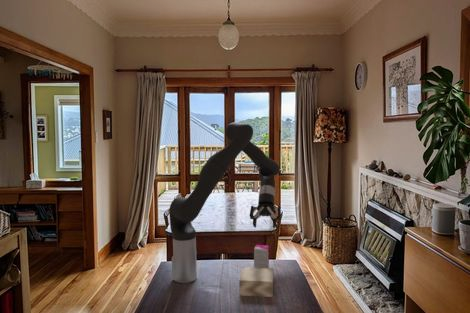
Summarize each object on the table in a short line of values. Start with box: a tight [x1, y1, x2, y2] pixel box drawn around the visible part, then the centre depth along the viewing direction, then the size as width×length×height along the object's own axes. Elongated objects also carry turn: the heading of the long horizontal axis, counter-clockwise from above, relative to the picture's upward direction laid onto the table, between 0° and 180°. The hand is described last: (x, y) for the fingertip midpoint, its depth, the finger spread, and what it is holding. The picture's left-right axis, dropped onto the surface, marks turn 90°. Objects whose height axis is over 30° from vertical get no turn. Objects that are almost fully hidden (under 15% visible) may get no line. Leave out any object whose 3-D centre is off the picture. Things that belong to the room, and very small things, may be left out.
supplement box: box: [253, 244, 270, 268], centre depth 144 cm, size 6×6×12 cm
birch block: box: [238, 266, 274, 298], centre depth 131 cm, size 12×12×6 cm
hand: (264, 227), depth 155 cm, fingers open, 8 cm apart
